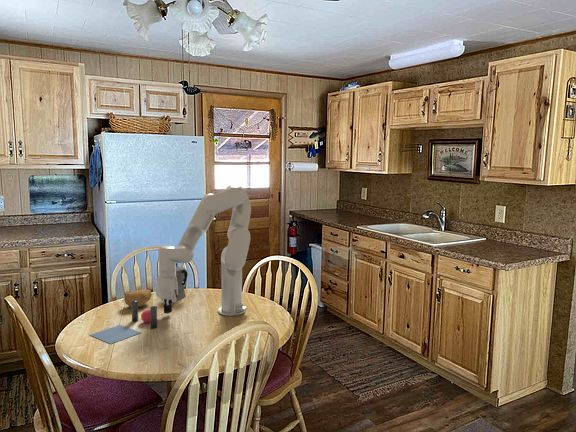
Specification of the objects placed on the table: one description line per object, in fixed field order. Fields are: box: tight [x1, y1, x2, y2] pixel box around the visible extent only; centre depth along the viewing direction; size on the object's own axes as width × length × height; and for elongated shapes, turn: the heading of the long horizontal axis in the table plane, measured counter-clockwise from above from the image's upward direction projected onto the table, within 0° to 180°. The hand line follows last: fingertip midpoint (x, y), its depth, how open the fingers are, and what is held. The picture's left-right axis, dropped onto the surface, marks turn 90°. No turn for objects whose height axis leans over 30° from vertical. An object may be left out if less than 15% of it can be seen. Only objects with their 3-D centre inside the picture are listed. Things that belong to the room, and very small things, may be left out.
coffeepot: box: [176, 263, 188, 300], centre depth 228 cm, size 15×9×18 cm, turn 51°
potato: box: [123, 288, 152, 308], centre depth 214 cm, size 10×14×8 cm
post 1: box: [131, 300, 139, 323], centre depth 195 cm, size 3×3×9 cm
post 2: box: [149, 305, 158, 330], centre depth 188 cm, size 3×3×9 cm
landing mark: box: [89, 324, 142, 345], centre depth 180 cm, size 14×14×1 cm
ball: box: [140, 309, 151, 323], centre depth 194 cm, size 6×6×6 cm
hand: (167, 312), depth 202 cm, fingers closed
